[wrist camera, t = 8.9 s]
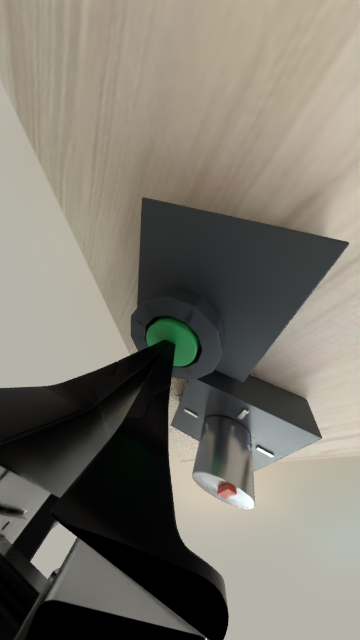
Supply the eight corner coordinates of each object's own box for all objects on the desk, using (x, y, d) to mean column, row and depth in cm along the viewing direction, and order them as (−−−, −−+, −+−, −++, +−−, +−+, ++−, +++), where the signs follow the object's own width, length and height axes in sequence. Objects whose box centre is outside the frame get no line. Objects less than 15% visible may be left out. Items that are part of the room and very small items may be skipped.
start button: (155, 340, 12) (144, 353, 11) (161, 303, 10) (148, 313, 9) (195, 357, 12) (188, 374, 10) (209, 321, 10) (203, 335, 8)
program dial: (239, 450, 14) (238, 518, 11) (198, 428, 15) (185, 484, 12) (261, 433, 12) (268, 513, 9) (211, 408, 13) (199, 471, 9)
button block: (147, 329, 15) (122, 353, 12) (160, 204, 10) (118, 186, 6) (239, 368, 13) (238, 409, 10) (326, 241, 8) (388, 243, 4)
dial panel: (179, 402, 20) (170, 426, 17) (199, 353, 14) (189, 377, 12) (252, 440, 18) (253, 474, 15) (306, 399, 12) (323, 441, 10)
